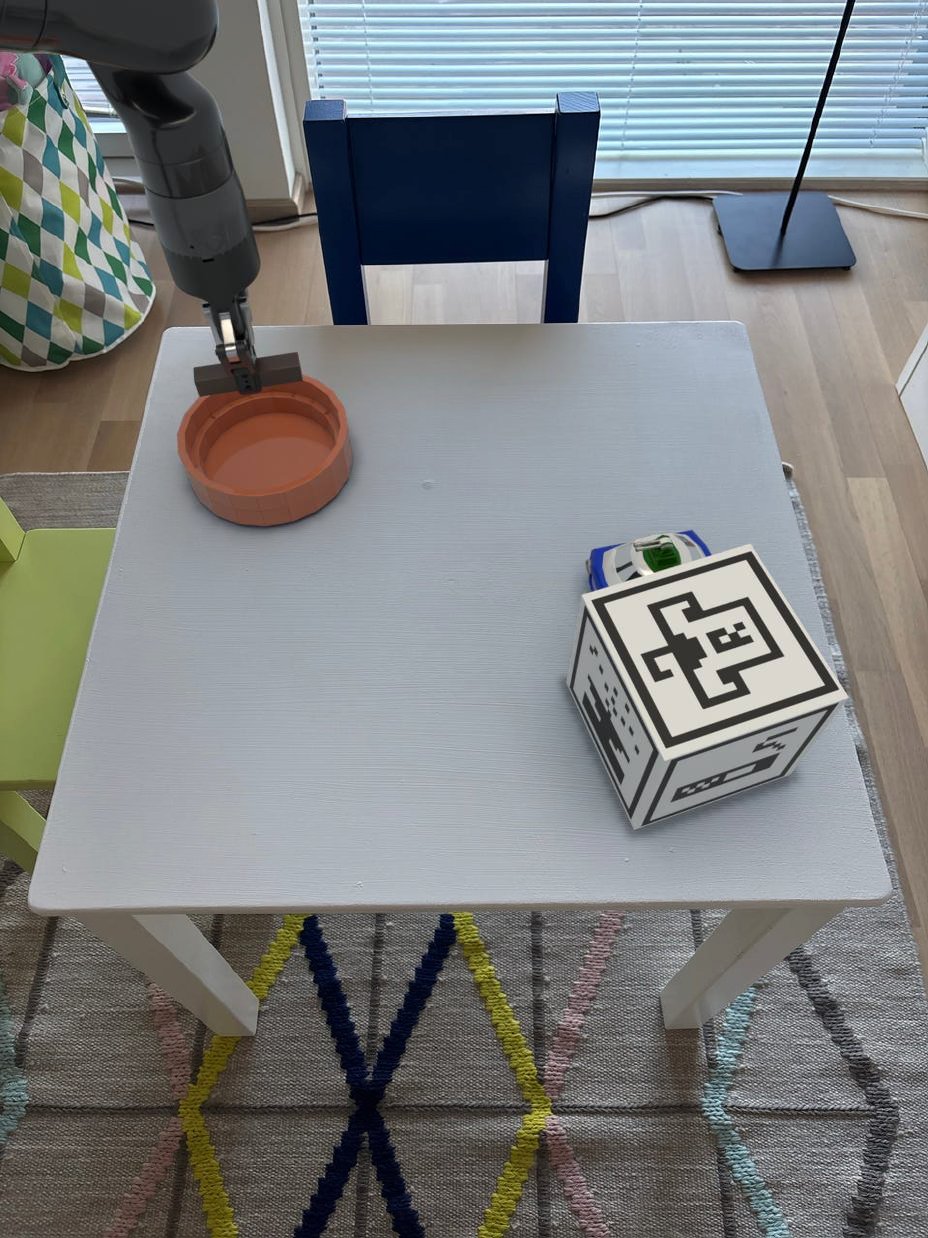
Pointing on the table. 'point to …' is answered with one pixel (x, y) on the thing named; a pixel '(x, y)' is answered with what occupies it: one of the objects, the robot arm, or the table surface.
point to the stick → (269, 371)
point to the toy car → (642, 557)
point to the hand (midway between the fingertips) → (249, 381)
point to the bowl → (267, 452)
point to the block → (698, 684)
